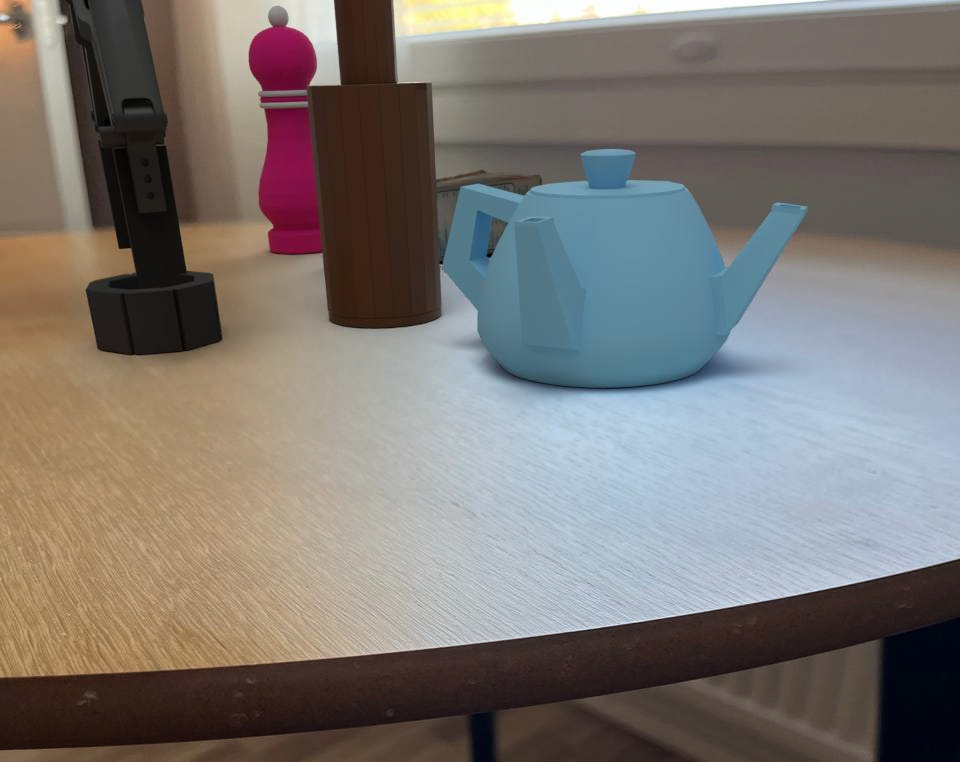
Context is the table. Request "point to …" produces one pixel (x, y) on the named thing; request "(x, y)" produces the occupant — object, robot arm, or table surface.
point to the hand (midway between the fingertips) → (150, 260)
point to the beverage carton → (451, 185)
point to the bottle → (375, 178)
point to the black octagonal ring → (154, 312)
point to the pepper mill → (287, 135)
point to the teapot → (605, 276)
